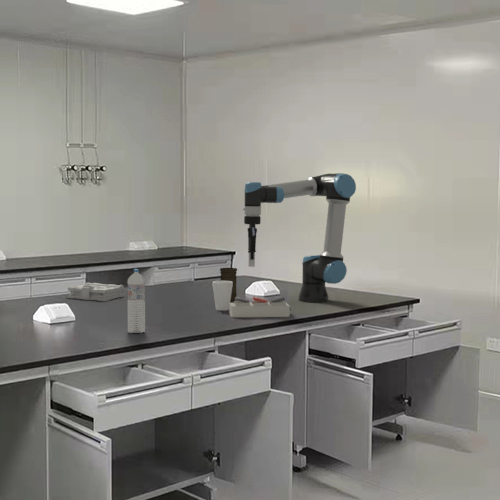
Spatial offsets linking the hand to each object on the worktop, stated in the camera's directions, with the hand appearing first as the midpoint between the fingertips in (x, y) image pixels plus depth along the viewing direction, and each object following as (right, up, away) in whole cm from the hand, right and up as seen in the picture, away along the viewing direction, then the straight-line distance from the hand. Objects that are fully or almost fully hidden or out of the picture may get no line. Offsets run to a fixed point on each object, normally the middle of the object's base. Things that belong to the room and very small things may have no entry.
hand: (251, 266), depth 353 cm
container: (-11, -19, +17) cm, 28 cm away
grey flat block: (-82, -17, +38) cm, 92 cm away
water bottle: (-45, -25, -53) cm, 74 cm away
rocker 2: (+4, -15, -13) cm, 20 cm away
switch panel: (+3, -22, -10) cm, 24 cm away
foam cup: (-14, -20, +4) cm, 25 cm away
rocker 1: (-4, -15, -14) cm, 21 cm away
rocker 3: (+12, -15, -12) cm, 22 cm away
